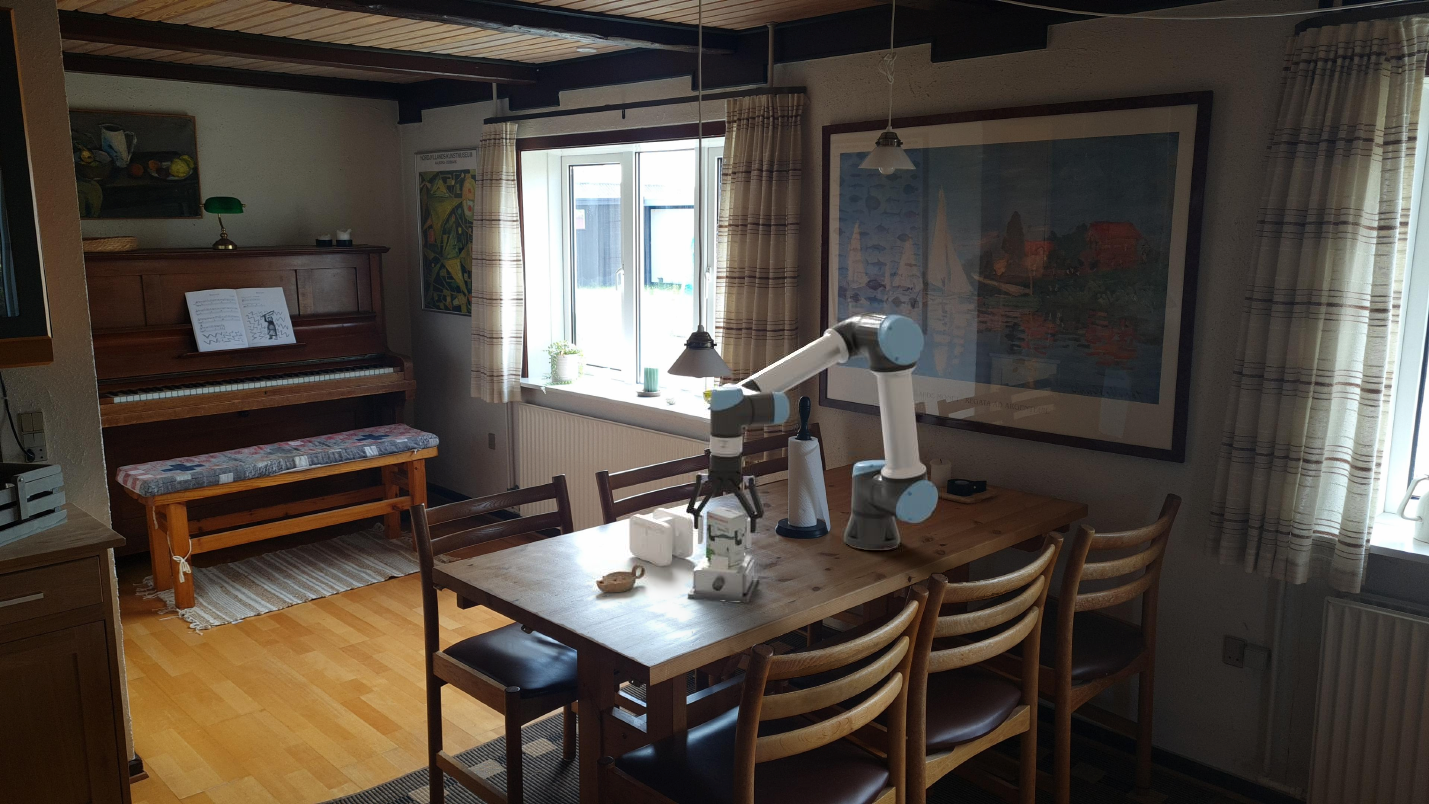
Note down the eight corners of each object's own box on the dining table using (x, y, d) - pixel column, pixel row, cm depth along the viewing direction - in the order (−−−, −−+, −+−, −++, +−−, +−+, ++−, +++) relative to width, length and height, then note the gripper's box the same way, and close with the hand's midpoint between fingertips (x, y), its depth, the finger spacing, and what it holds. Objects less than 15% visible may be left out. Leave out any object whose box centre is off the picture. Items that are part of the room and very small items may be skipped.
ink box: (704, 558, 234) (705, 509, 232) (719, 553, 238) (720, 506, 236) (730, 567, 228) (731, 517, 226) (745, 562, 232) (746, 513, 230)
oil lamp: (604, 599, 227) (604, 578, 226) (589, 589, 233) (588, 569, 232) (652, 588, 234) (652, 568, 234) (636, 579, 240) (636, 559, 240)
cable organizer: (695, 561, 254) (696, 517, 252) (665, 570, 246) (665, 525, 245) (657, 547, 264) (657, 506, 262) (627, 556, 257) (627, 513, 255)
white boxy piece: (758, 579, 241) (759, 540, 239) (747, 604, 225) (747, 561, 223) (702, 575, 243) (702, 535, 242) (687, 598, 227) (687, 557, 226)
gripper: (673, 453, 227) (672, 545, 231) (773, 459, 223) (771, 552, 226) (680, 447, 234) (680, 535, 238) (778, 452, 230) (775, 542, 234)
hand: (724, 544), depth 232 cm, fingers open, 11 cm apart
